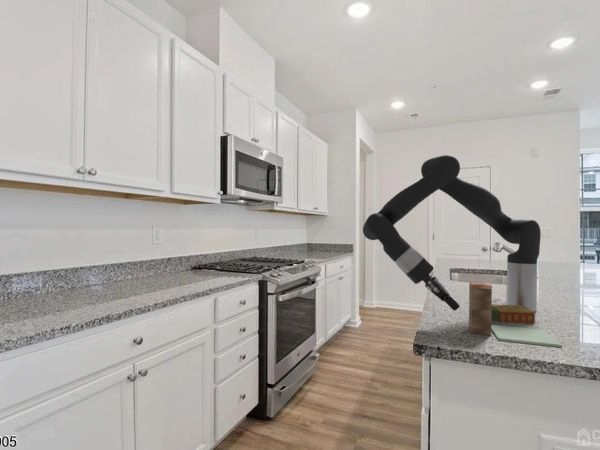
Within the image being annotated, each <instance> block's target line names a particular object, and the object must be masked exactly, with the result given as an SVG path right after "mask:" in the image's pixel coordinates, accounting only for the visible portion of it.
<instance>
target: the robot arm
mask: <svg viewBox="0 0 600 450" xmlns="http://www.w3.org/2000/svg"><path fill="white" fill-rule="evenodd" d="M460 171H461V165H460V162H459V160H458V158H456V157H455V156H453V155H451V154H450V155H449V154H448V155H447V154H445V155H441V156H436V157H432V158H429V159H427V160H426V161H425V160H424V162H423V163H422V165H421V169H420V173H421V176H422V178H420V179H419V180H418V181H416V182H414V183H413V184H411V185H409V186H408V187H406V188H403V189H402V190H400V191H399V192H398V193H397V194H395V195H394V196H393V197H392V198H391V199H389V200H388V201H387V202H386V203H385V204H384V205H383V206H382V208H381V209H380V210H379V211H378V212H375V213H372V214H370V215H369V216H368V217H367V219H366V220H365V222H364V223H363V226H362V233H363V235H364V237H365V238H366V239H368V240H369V241H376V240H378V241H379V242H380V244H381V245H382V247H383V248H382V249H383V251H384V253H385V254H386V255H387V256H388V257H389V258H390V259H391V260H392V261H393V262H394V263H395V264H396V265H397V267H398V268H399V270H401V272H403V273H404V275H405V276H407V278H409V279H410V281H412V283H414V284H415V285H417V284H419V283H421V282H424V286H425V288H426V289H427V290H428V291H430V292H431V293H432V294H433V295H435V297H437V298H438V299H440V300H441V301H442V302H445V304H446V305H448V307H449V308H450V309H451V310H453V311H454V312H455V311H456V310H458V309H459V308H460V304H459V303H458V302H457V301H456V300H455V299H454V298H453V297H452V296H451V294H450V293H449V292H448V290H447V289H446V288H445V286H444V285H443V284H442V283H441V282H440V281H439V279H438V278H437V277H436V276H435V275H434V276H432V275H431V273H432V272H433V271H434V266H433V265H432V264H431V263H430V262H429V261H428V260H427V259H425V257H423V255H422V254H421V253H420V252H419V251H418V250H417V249H415V248H413V247H412V246H411V245H410V244H409V243H408V242H407V241H406V240H405V239H404V238H403V237H402V236H401V235H400V233H399V231H398V229H396V227H395V224H396V223H398V222H399V221H400V220H402V219H403V218H404V217H405V216H407V215H408V214H409V213H410V212H411V211H413V209H415V208H416V207H417V206H418V205H419V204H421V203H422V202H423V201H424V200H425V199H427V198H428V197H430V196H431V195H432V194H434V193H435V192H437V191H441V192H443V193H445V194H446V195H448V196H449V197H450V198H451V199H453V200H454V201H456V202H457V203H458V204H460V205H461V206H463V207H464V208H465V209H466V210H467V211H469V212H470V213H471V214H473V215H474V216H476V217H477V218H479V219H480V220H482V221H483V222H484V223H485V224H486V225H488V226H490V228H491V229H493V230H494V231H495V232H496V233H497V234H498V235H499V236H500V237H501V238H502V239H503V240H505V241H506V242H507V243H510V244H514V245H518V249H517V250H516V251H514V252H511V253H509V254H508V255H507V257H506V258H507V259H506V260H507V261H506V264H507V265H506V267H507V268H506V270H507V273H506V274H507V275H506V278H507V279H506V303H505V305H522V306H524V307H526V308H529V309H531V310H532V311H534V312H537V311H538V310H537V308H538V306H537V305H538V303H537V302H538V301H537V300H538V299H537V298H538V294H537V293H538V259H539V256H540V247H541V235H542V234H541V232H542V231H541V227H540V225H539V223H538V222H537V221H536V220H534V219H515V218H511V217H509V216H508V215H507V214H505V213H504V212H503V211H502V207H501V203H500V202H501V201H500V200H499V199H498V197H497V196H496V195H494V194H493V193H492V192H490V191H489V190H488V189H487V188H485V187H483V186H481V185H479V184H476V183H474V182H470V181H468V180H464V179H462V178H460V177H458V175H459V174H460Z"/></svg>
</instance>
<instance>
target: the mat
mask: <svg viewBox="0 0 600 450" xmlns="http://www.w3.org/2000/svg"><path fill="white" fill-rule="evenodd" d="M491 333H493V335H494V336H495V338H496V339H497V340H498V341H501V342H502V341H503V342H510V343H519V344H521V343H522V344H529V345H530V344H531V345H537V346H538V345H539V346H546V347H555V348H556V347H557V348H562V347H563V345H562V344H561V343H560V342H559V341H557V340H556V339H555V338H554V337H553V336H552V335H551V334H549V333H548V332H547V331H546V330H544V329H536V328H529V327H515V326H505V325H496V324H491Z"/></svg>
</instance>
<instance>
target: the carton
mask: <svg viewBox="0 0 600 450" xmlns="http://www.w3.org/2000/svg"><path fill="white" fill-rule="evenodd" d="M535 317H536V316H535V311H532V310H531V309H529V308H526V307H524V306H522V305H506V304H492V319H491V322H504V323H505V322H506V323H524V324H535V322H536V319H535Z"/></svg>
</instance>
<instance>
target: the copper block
mask: <svg viewBox="0 0 600 450" xmlns="http://www.w3.org/2000/svg"><path fill="white" fill-rule="evenodd" d="M468 283H469V285H468V286H469V287H468V288H469V291H468V292H469V293H468V299H469V300H468V305H469V306H468V330H469V332H470V333H471V334H475V335H483V336H492V330H491V325H492V321H491V319H492V303H493V302H492V299H493V298H492V297H493V295H492V293H493V292H492V291H493V286H492V284H491V283H490V282H488V281H487V282H486V281H485V282H484V281H483V282H482V281H470V280H469V282H468Z"/></svg>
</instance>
